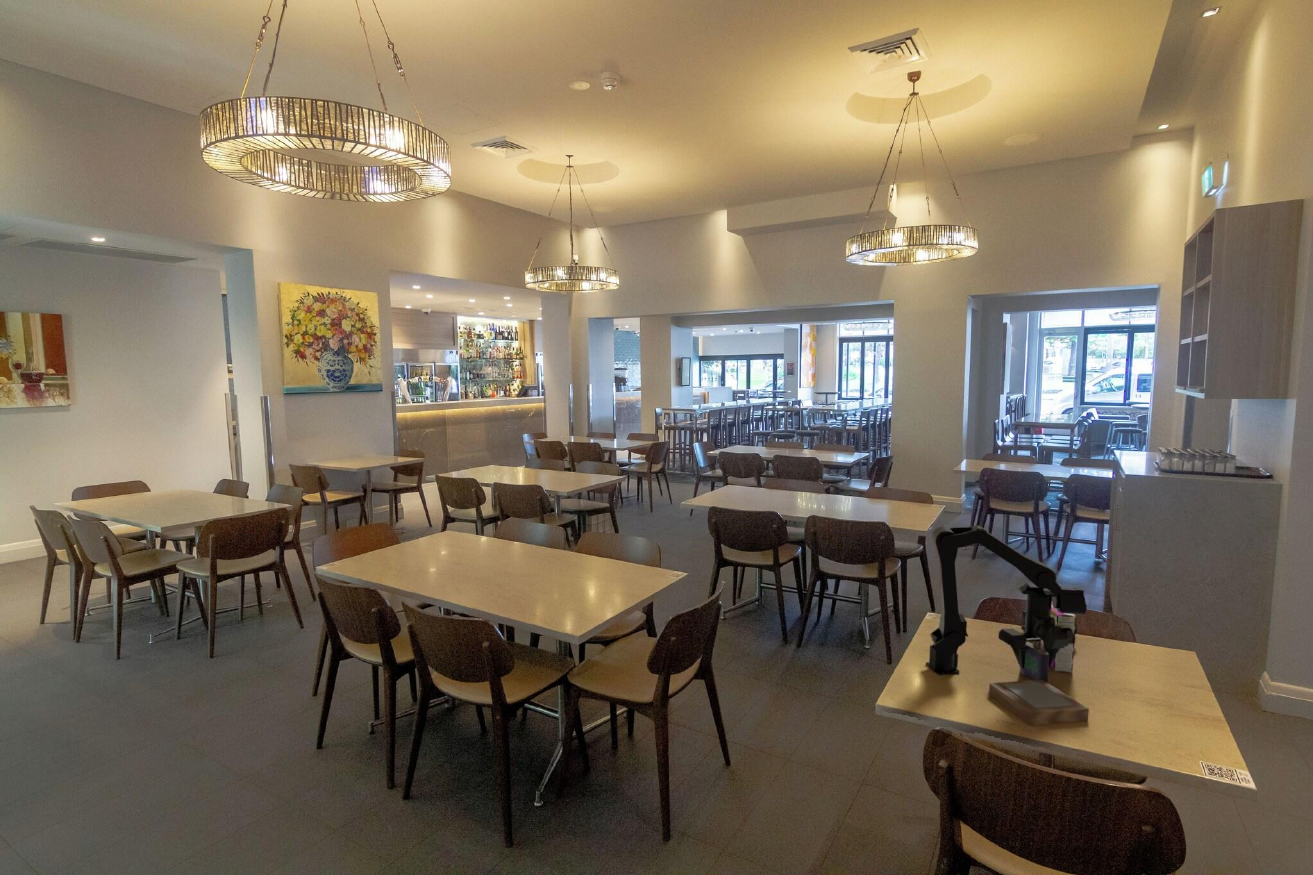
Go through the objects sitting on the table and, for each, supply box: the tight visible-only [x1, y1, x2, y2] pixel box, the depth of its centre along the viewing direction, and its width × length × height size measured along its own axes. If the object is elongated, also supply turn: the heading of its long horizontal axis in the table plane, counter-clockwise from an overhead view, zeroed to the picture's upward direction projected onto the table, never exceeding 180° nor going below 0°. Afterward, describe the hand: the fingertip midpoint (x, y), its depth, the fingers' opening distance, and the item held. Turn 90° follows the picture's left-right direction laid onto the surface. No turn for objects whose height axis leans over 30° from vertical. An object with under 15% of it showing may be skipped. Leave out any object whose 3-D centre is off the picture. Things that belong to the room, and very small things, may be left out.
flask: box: [1019, 640, 1049, 683], centre depth 175 cm, size 9×3×11 cm, turn 8°
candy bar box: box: [1039, 605, 1077, 674], centre depth 184 cm, size 11×5×16 cm, turn 168°
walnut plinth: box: [988, 679, 1090, 726], centre depth 161 cm, size 15×15×3 cm
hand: (1034, 666), depth 175 cm, fingers open, 7 cm apart
